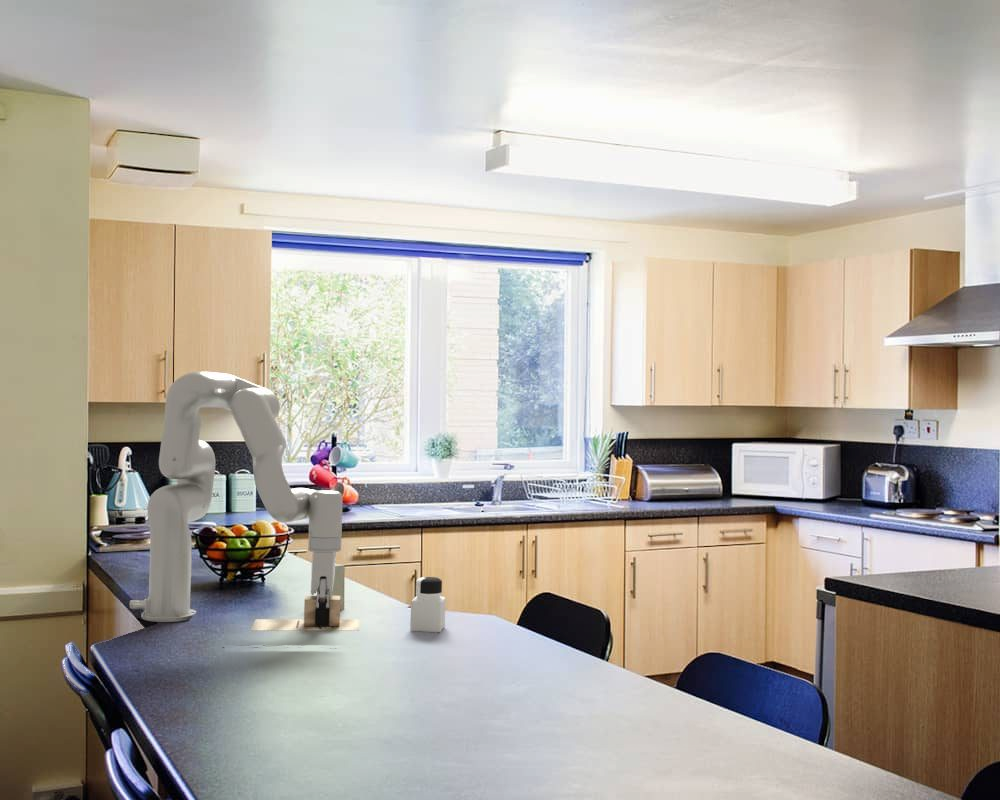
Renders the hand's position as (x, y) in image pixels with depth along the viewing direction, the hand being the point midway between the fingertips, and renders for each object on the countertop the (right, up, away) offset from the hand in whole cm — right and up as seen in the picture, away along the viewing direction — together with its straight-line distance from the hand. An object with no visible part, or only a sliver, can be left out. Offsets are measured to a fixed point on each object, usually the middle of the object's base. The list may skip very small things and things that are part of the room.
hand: (322, 622), depth 242 cm
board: (-4, -2, 0) cm, 4 cm away
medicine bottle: (+24, -3, +4) cm, 25 cm away
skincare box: (-1, -2, +20) cm, 20 cm away
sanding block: (0, 0, 0) cm, 0 cm away
